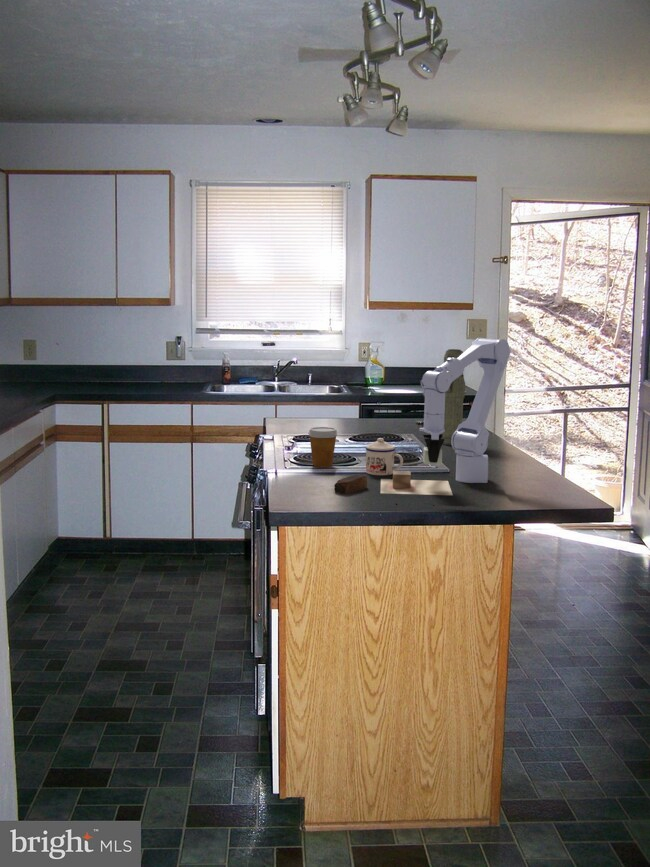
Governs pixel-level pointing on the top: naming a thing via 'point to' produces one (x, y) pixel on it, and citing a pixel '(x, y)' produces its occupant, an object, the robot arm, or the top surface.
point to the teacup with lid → (381, 458)
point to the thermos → (453, 401)
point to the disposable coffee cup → (322, 445)
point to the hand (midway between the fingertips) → (432, 460)
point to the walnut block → (401, 479)
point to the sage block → (426, 457)
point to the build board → (418, 487)
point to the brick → (351, 484)
